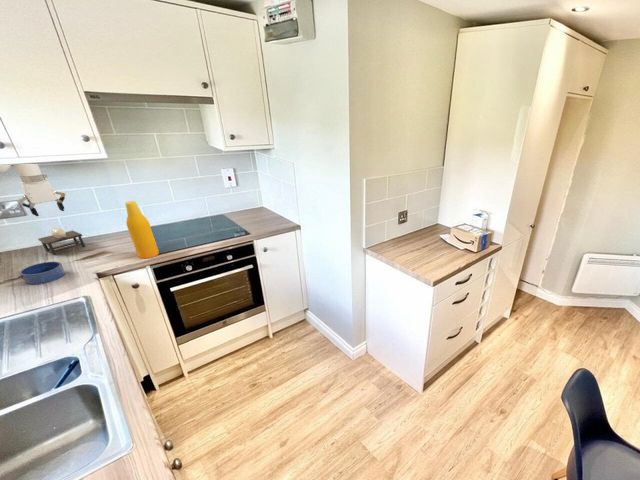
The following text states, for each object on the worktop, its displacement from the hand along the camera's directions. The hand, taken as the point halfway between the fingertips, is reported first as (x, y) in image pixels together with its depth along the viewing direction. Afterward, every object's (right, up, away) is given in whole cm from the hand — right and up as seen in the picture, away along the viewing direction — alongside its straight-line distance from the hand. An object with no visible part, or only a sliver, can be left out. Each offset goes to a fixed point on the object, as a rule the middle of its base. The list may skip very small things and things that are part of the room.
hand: (49, 213), depth 162 cm
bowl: (+13, -32, -13) cm, 37 cm away
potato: (-1, -11, +6) cm, 13 cm away
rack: (-1, -19, +10) cm, 22 cm away
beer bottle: (+42, -21, +11) cm, 48 cm away
